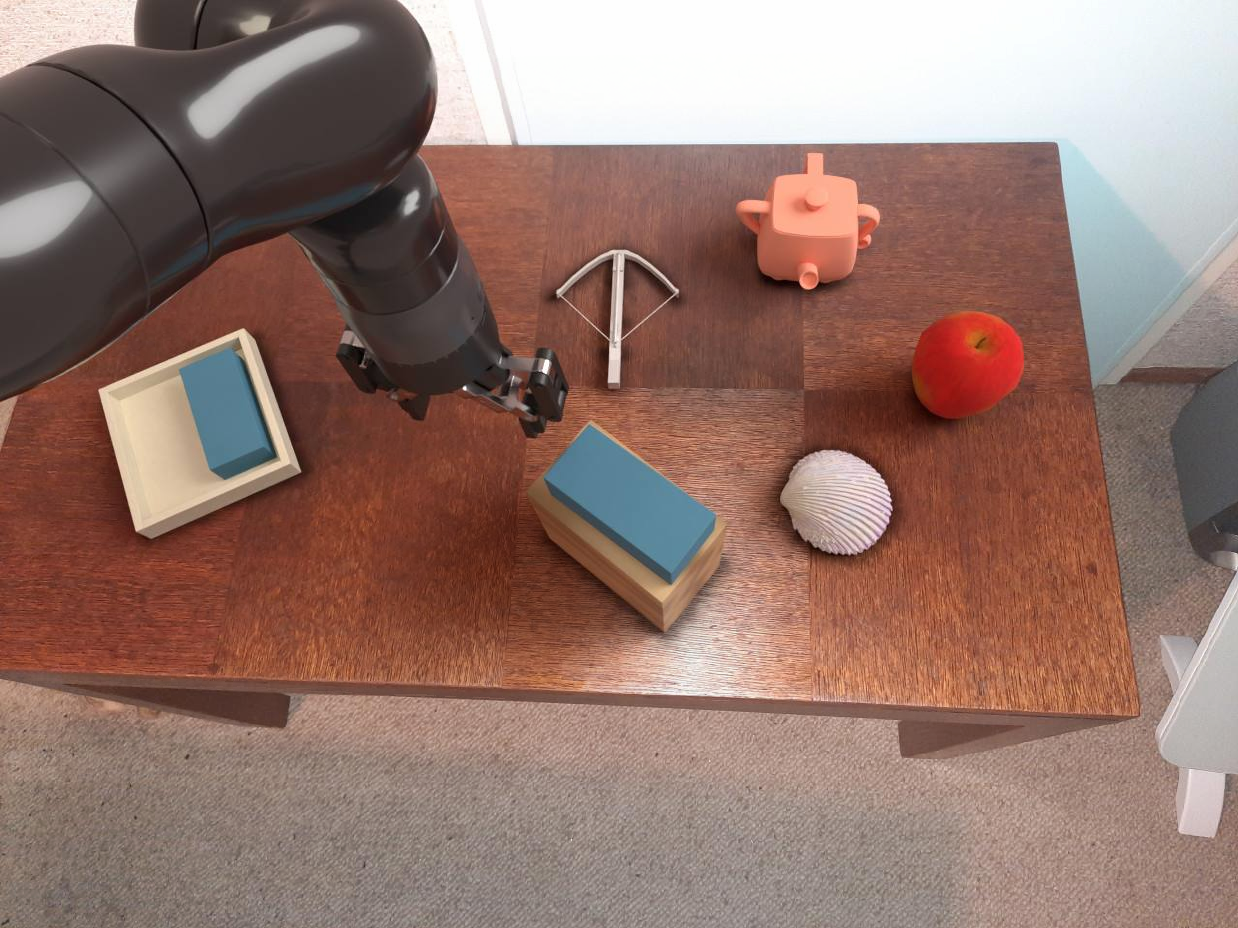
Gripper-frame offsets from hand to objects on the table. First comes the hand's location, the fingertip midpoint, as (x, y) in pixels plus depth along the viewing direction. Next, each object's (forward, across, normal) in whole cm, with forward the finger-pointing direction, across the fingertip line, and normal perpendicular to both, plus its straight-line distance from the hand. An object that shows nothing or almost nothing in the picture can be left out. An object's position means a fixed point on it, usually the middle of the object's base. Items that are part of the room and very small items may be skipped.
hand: (478, 417), depth 62 cm
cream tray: (+21, -34, +2) cm, 40 cm away
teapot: (+21, +22, +31) cm, 44 cm away
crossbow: (+21, +5, +21) cm, 30 cm away
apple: (+21, +38, +18) cm, 47 cm away
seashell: (+21, +29, +5) cm, 36 cm away
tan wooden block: (+21, +11, -3) cm, 24 cm away
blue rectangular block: (+7, +12, -3) cm, 14 cm away
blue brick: (+20, -31, +4) cm, 37 cm away
